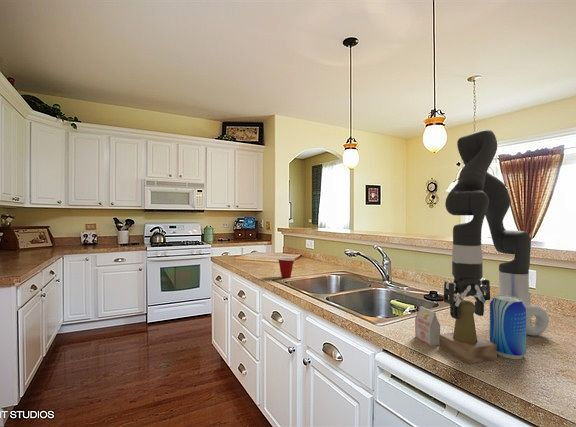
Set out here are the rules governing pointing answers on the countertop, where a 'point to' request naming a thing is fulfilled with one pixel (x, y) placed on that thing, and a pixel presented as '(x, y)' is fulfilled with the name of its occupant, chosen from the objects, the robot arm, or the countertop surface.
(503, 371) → the countertop surface
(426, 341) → the white tall box
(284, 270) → the plastic cup
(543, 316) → the donut
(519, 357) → the beer can
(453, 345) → the walnut base
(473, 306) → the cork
